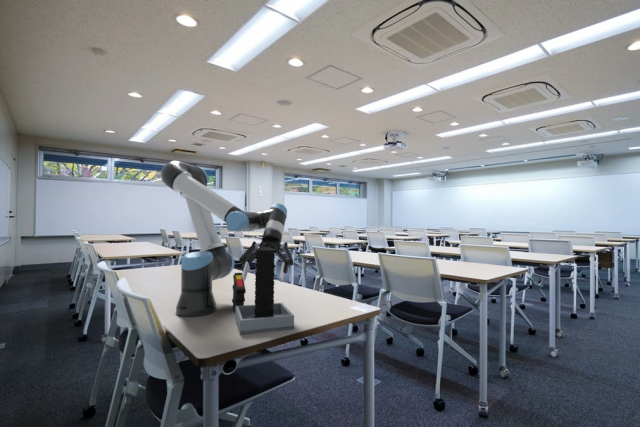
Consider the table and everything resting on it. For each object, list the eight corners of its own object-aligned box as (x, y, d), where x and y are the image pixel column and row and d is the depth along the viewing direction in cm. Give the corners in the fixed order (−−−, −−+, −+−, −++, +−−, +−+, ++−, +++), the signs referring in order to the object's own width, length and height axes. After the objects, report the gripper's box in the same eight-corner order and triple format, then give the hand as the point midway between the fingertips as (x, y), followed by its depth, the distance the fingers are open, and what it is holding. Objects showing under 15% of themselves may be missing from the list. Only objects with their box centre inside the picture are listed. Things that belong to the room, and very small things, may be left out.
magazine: (240, 300, 139) (242, 272, 133) (243, 322, 128) (246, 291, 122) (231, 301, 137) (233, 272, 132) (234, 323, 126) (236, 292, 120)
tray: (239, 334, 103) (240, 320, 103) (235, 318, 120) (235, 306, 120) (293, 328, 109) (294, 315, 109) (282, 313, 126) (282, 302, 126)
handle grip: (274, 325, 109) (280, 316, 119) (275, 248, 110) (282, 245, 119) (245, 324, 110) (254, 315, 120) (247, 247, 111) (256, 245, 120)
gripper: (304, 241, 129) (298, 286, 114) (244, 240, 131) (230, 284, 116) (302, 228, 124) (295, 273, 109) (240, 227, 126) (225, 271, 111)
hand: (262, 279), depth 112 cm, fingers open, 13 cm apart
